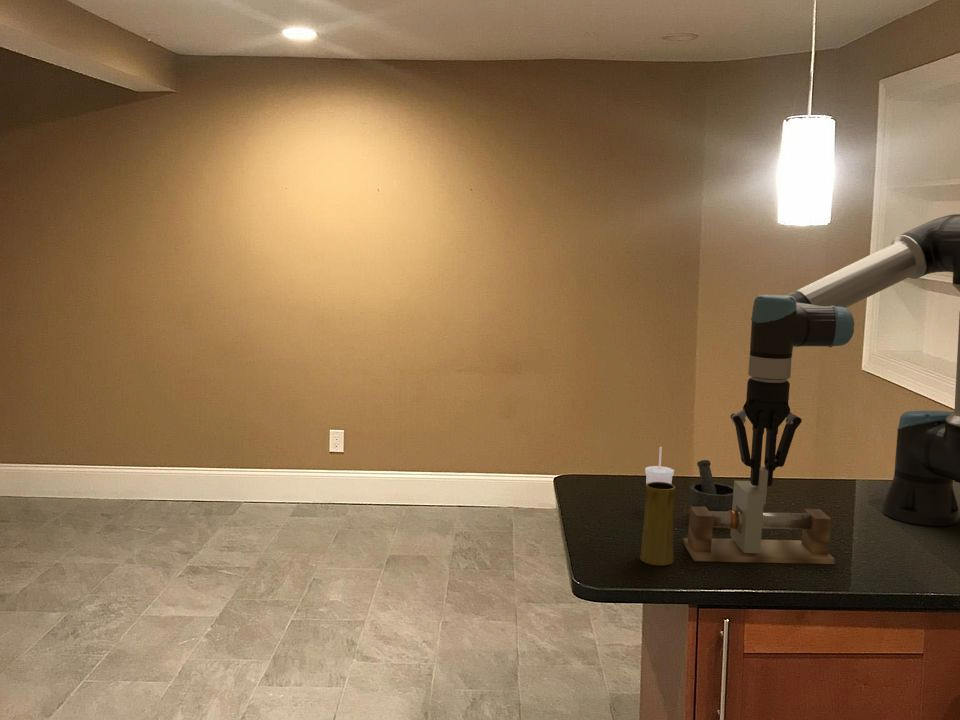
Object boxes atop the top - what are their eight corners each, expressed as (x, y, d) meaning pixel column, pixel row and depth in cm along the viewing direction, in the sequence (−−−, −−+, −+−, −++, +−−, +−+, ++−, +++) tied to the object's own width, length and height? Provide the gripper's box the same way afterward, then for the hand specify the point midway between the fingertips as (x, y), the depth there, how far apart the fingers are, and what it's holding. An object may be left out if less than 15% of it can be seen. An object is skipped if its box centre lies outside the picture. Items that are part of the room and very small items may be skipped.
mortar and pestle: (743, 527, 202) (748, 470, 200) (702, 529, 200) (706, 472, 198) (717, 510, 213) (720, 456, 211) (677, 512, 210) (681, 458, 209)
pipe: (815, 527, 188) (817, 509, 187) (822, 533, 184) (823, 515, 184) (695, 524, 187) (696, 507, 187) (699, 530, 184) (701, 512, 183)
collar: (745, 536, 191) (749, 480, 189) (760, 553, 181) (764, 495, 180) (730, 535, 191) (734, 480, 189) (743, 552, 181) (747, 494, 180)
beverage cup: (677, 511, 211) (681, 448, 209) (657, 516, 208) (660, 451, 206) (657, 504, 216) (660, 442, 214) (637, 508, 213) (640, 445, 211)
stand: (815, 545, 192) (818, 506, 190) (834, 564, 182) (837, 522, 180) (682, 542, 191) (685, 503, 190) (694, 561, 181) (696, 519, 180)
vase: (666, 568, 177) (670, 492, 175) (634, 561, 180) (638, 486, 178) (678, 559, 182) (682, 484, 180) (647, 552, 185) (651, 479, 183)
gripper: (797, 376, 185) (787, 497, 189) (728, 374, 185) (720, 495, 188) (810, 383, 178) (800, 509, 181) (739, 381, 178) (730, 507, 181)
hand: (759, 502), depth 185 cm, fingers closed
